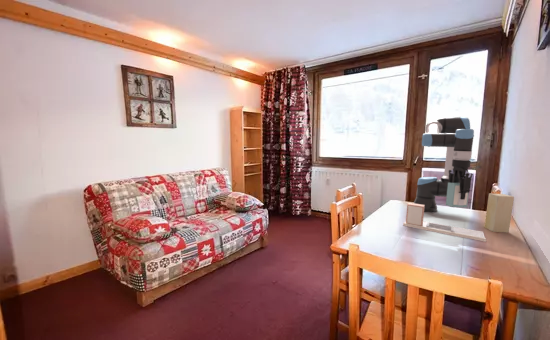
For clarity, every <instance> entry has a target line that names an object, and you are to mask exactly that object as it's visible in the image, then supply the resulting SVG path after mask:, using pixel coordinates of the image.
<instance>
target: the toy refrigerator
mask: <svg viewBox="0 0 550 340" xmlns="http://www.w3.org/2000/svg"><path fill="white" fill-rule="evenodd" d="M514 200H515V197H514V196H513V195H508V194H507V193H506V194H504V193H488V198H487V203H486V204H487V205H486V213H485V222H484V229H486V230H489V231H490V232H492V233H509V232H510V228H511V227H510V226H511V219H512V213H513V208H514V207H513V206H514Z"/></svg>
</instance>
